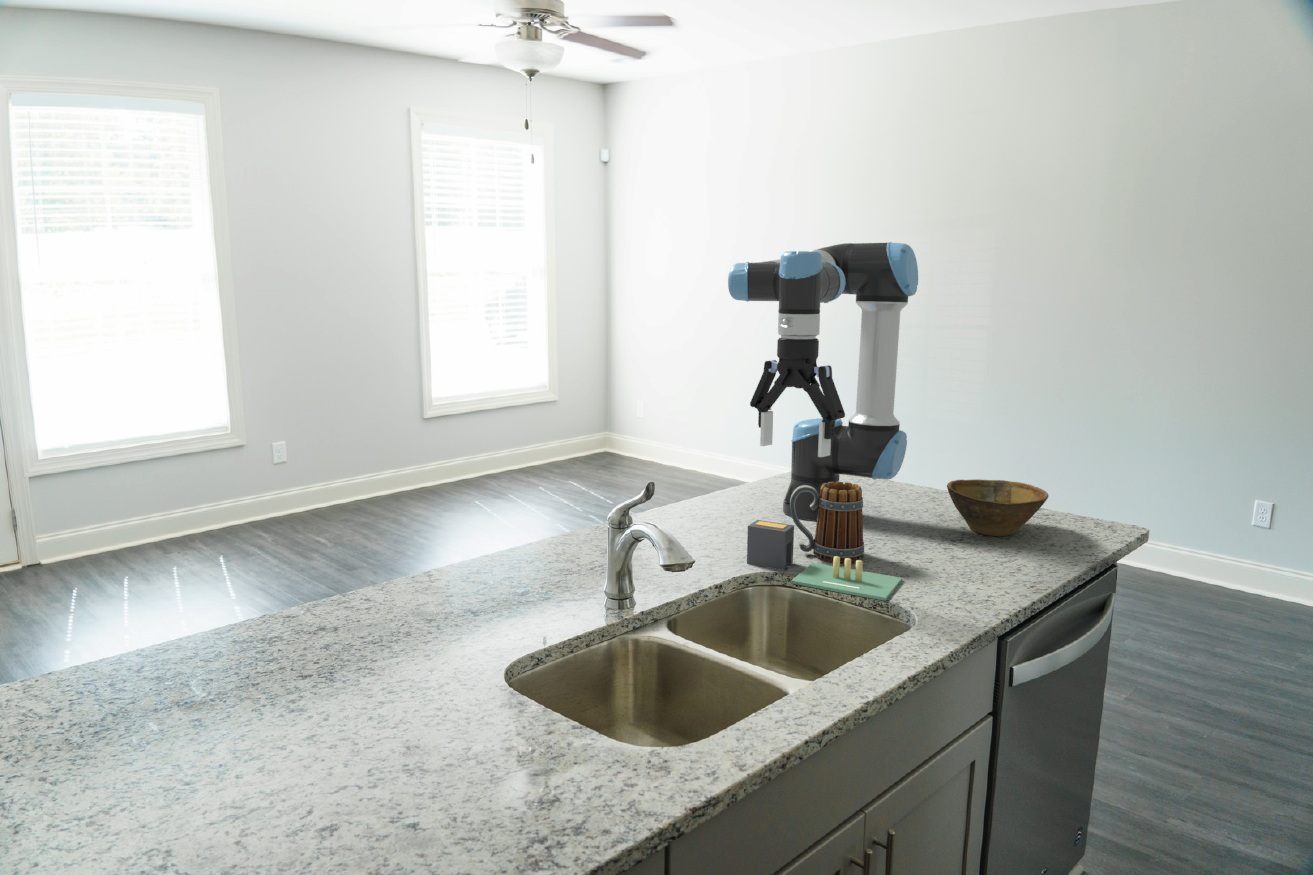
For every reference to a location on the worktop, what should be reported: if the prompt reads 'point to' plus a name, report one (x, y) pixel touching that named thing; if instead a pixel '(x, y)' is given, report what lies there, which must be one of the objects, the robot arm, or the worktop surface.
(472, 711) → the worktop surface
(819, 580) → the board
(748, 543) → the grey slotted block
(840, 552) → the mug
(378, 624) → the worktop surface
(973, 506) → the bowl
